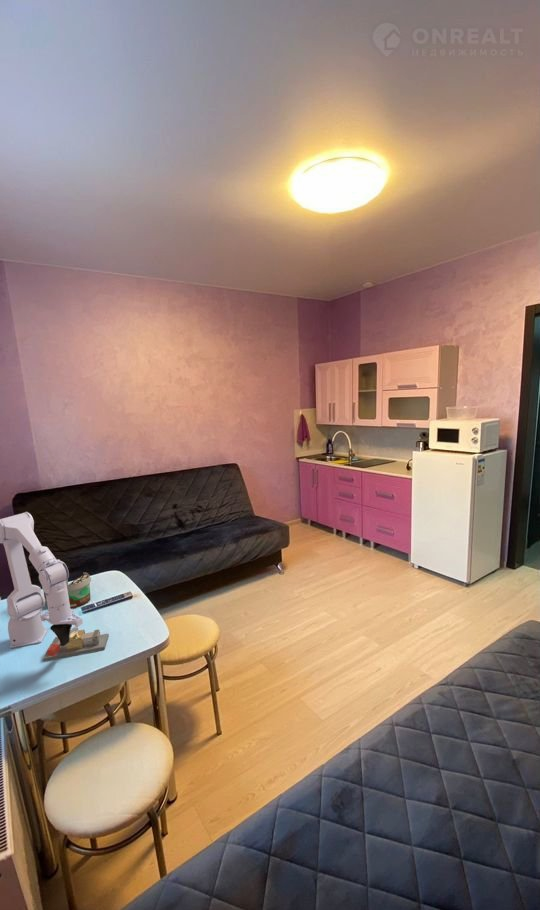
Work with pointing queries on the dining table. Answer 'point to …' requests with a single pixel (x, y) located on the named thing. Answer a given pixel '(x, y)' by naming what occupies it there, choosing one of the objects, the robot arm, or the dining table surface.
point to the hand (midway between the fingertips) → (65, 643)
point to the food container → (79, 591)
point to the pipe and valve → (81, 640)
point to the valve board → (79, 651)
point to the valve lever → (56, 647)
